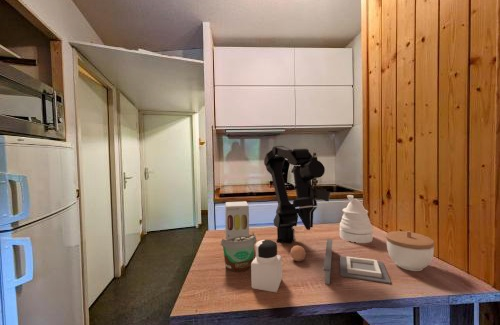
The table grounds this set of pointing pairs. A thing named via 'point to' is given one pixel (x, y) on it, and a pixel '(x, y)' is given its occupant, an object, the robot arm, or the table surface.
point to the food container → (239, 252)
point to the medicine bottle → (266, 267)
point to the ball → (298, 253)
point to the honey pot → (355, 223)
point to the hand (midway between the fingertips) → (309, 228)
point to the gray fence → (328, 261)
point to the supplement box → (236, 219)
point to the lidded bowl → (410, 249)
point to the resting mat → (363, 269)
